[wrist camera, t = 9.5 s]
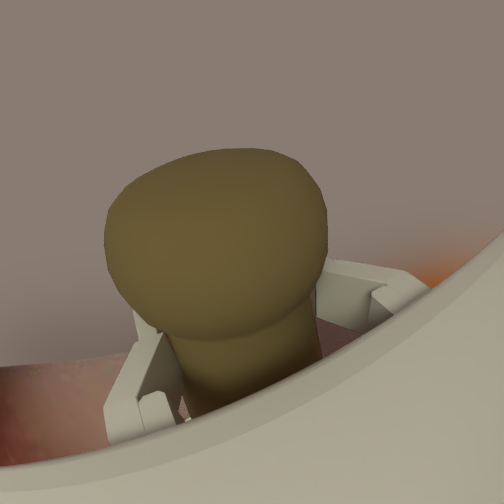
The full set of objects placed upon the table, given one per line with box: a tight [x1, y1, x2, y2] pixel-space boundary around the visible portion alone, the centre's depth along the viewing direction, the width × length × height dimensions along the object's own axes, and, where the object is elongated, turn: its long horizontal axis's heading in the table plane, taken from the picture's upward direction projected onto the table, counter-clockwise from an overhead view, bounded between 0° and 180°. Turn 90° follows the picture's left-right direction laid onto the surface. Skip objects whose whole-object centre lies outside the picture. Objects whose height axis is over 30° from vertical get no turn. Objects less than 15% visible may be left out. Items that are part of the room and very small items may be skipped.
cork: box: [104, 148, 328, 419], centre depth 9 cm, size 6×6×11 cm
